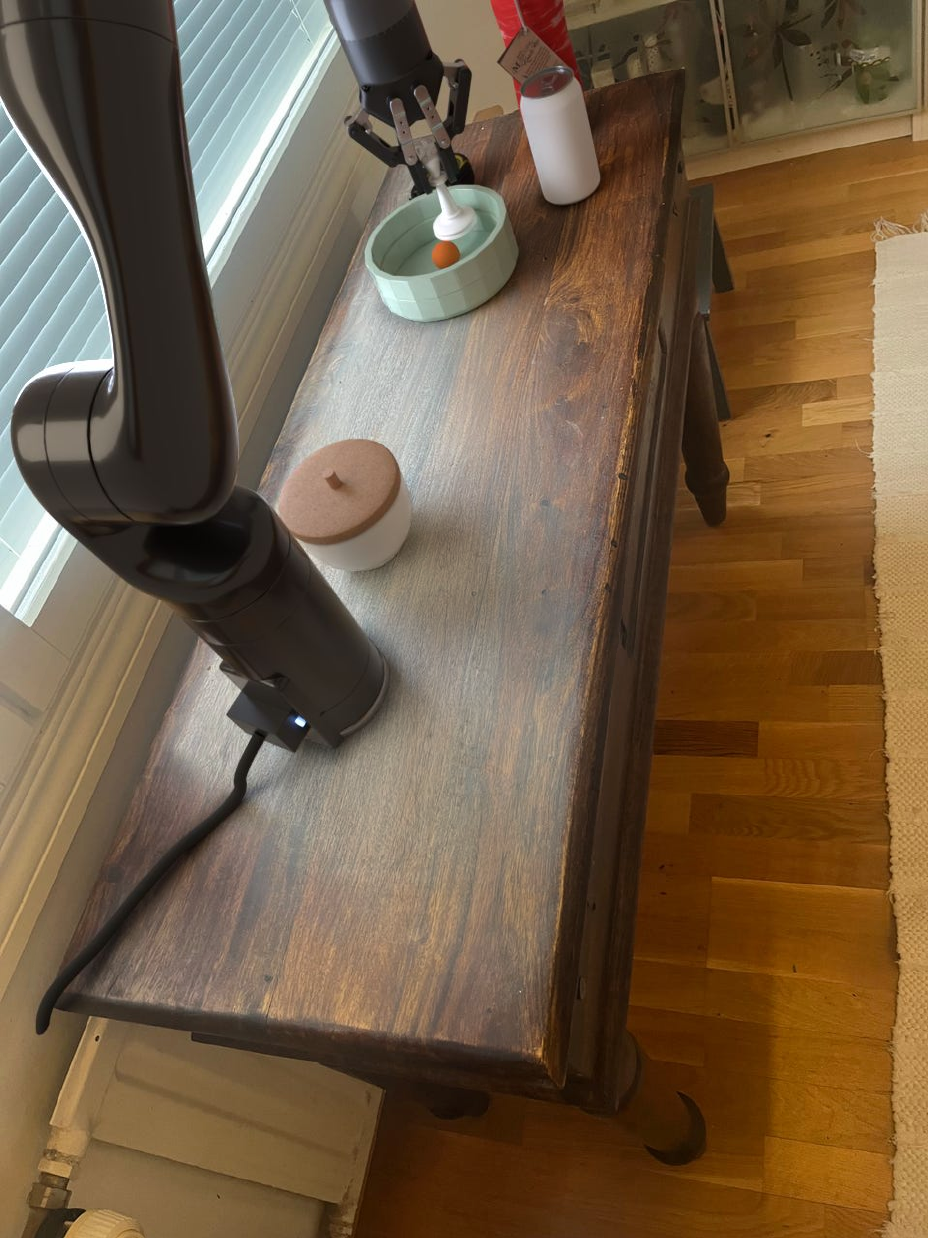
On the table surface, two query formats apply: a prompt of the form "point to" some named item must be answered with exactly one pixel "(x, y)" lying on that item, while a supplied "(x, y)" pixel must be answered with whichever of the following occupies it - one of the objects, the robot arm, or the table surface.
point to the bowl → (408, 266)
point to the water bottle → (533, 39)
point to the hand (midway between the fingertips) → (440, 183)
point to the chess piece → (446, 199)
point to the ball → (445, 254)
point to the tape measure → (462, 177)
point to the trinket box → (348, 505)
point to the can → (559, 135)
